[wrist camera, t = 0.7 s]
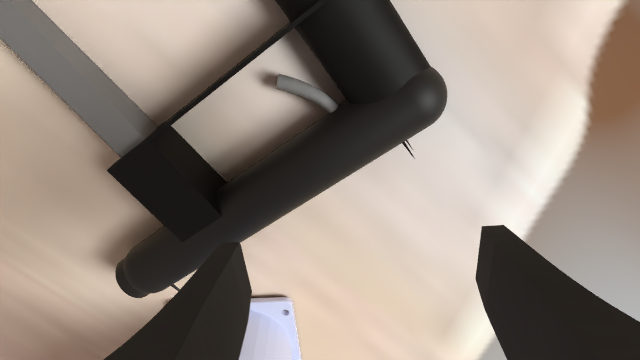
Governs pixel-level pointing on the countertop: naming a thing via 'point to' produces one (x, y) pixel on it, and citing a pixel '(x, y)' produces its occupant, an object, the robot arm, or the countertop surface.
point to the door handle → (270, 172)
